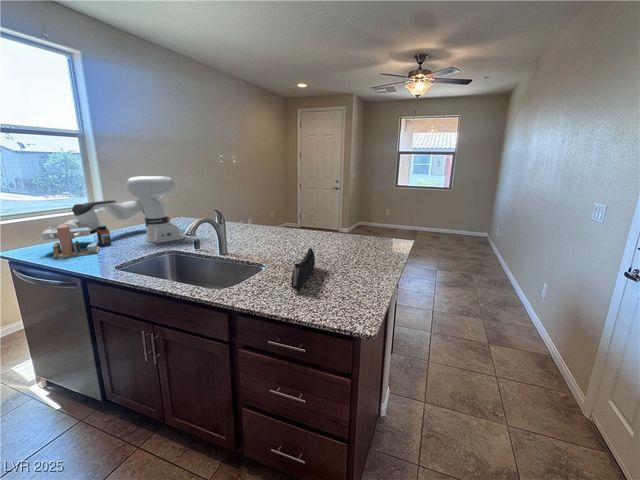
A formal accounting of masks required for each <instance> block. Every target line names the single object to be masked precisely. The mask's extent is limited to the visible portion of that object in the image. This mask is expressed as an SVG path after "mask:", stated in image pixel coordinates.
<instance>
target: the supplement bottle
mask: <svg viewBox="0 0 640 480" xmlns="http://www.w3.org/2000/svg"><path fill="white" fill-rule="evenodd" d="M96 236H97V242H98V246H102V247H103V246H110V245H111V244H112V241H111V236H110V229H109V228H107V225H104V224H101V225H100V226H98V230H97V232H96Z"/></svg>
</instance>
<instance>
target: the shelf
mask: <svg viewBox="0 0 640 480" xmlns="http://www.w3.org/2000/svg"><path fill="white" fill-rule="evenodd" d="M52 251H53V255H52V258H53V259H62V258H71V257H79V256H87V255H88V256H89V255H96V254H98V253H99V251H100V246H98V248H97V251H93V252H87V253H79V254H75V250H74V252H73V253H72V254H62V250H61V245H60V242H55V244H54V245H53V246H52Z"/></svg>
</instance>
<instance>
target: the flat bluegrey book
mask: <svg viewBox="0 0 640 480" xmlns="http://www.w3.org/2000/svg"><path fill="white" fill-rule="evenodd" d="M98 247H99V243H98V241H97V242H96V241H95V242H89V243H88V245H87V247H86V248H87V249H88V252H93V251H97V248H98Z"/></svg>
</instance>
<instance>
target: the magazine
mask: <svg viewBox="0 0 640 480" xmlns="http://www.w3.org/2000/svg"><path fill="white" fill-rule="evenodd" d="M315 264H316V261H315V252H314V250H313V248H312V247H309V248H308V250H307V252H306V254H305V255H304V257H303V258H302V260H301V261H300V262H297V263H295V264H294V268H293V270H292V274H291V282H290V283H291V284H290V285H291V286H290V287H291V288H292V289H294V290H296V291H299V290H300V288H301V287H303V286H304V285H305V283H306V282H307V281H308V280H309V278H310V276H311V275H312V272H313V269H314V267H315V266H316V265H315Z"/></svg>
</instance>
